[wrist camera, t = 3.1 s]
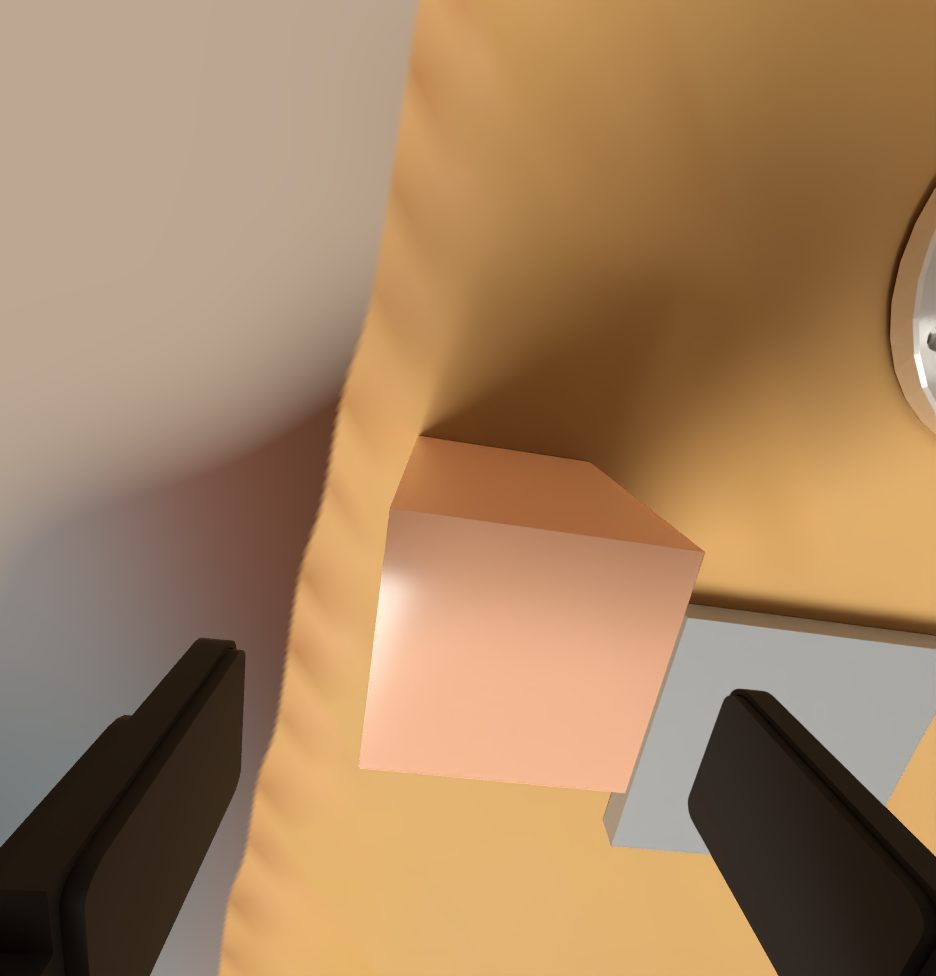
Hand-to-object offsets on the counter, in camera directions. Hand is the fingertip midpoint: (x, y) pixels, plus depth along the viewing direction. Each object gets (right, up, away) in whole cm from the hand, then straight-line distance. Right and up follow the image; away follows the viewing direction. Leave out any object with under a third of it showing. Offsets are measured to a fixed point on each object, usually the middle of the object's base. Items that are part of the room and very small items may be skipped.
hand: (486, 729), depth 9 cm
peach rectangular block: (+1, +3, +9) cm, 9 cm away
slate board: (+13, -7, +12) cm, 19 cm away
